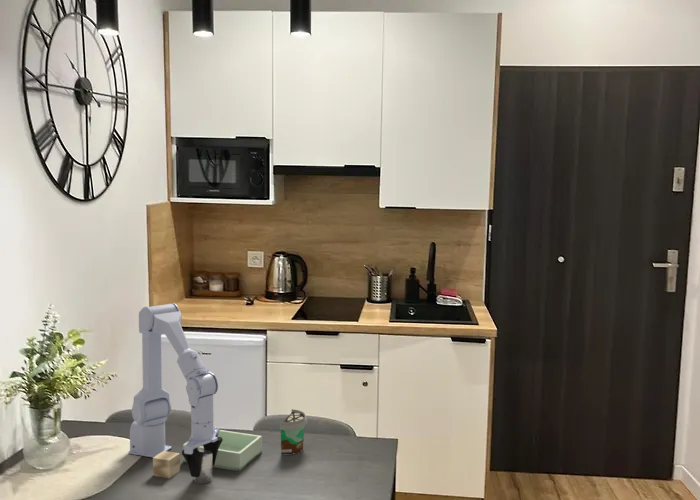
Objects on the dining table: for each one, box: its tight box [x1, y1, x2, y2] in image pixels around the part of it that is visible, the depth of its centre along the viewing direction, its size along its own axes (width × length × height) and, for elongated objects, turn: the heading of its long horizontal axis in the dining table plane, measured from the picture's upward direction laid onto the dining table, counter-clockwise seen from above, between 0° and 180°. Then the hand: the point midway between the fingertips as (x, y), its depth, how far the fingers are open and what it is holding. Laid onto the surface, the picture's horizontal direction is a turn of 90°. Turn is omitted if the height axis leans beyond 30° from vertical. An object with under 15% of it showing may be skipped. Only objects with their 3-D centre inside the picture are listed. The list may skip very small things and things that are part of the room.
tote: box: [182, 429, 263, 472], centre depth 196 cm, size 18×14×5 cm
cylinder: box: [192, 450, 214, 485], centre depth 182 cm, size 5×5×7 cm
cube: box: [152, 450, 181, 479], centre depth 186 cm, size 5×5×5 cm
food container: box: [279, 408, 308, 455], centre depth 203 cm, size 12×6×10 cm, turn 168°
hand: (203, 470), depth 182 cm, fingers open, 7 cm apart
